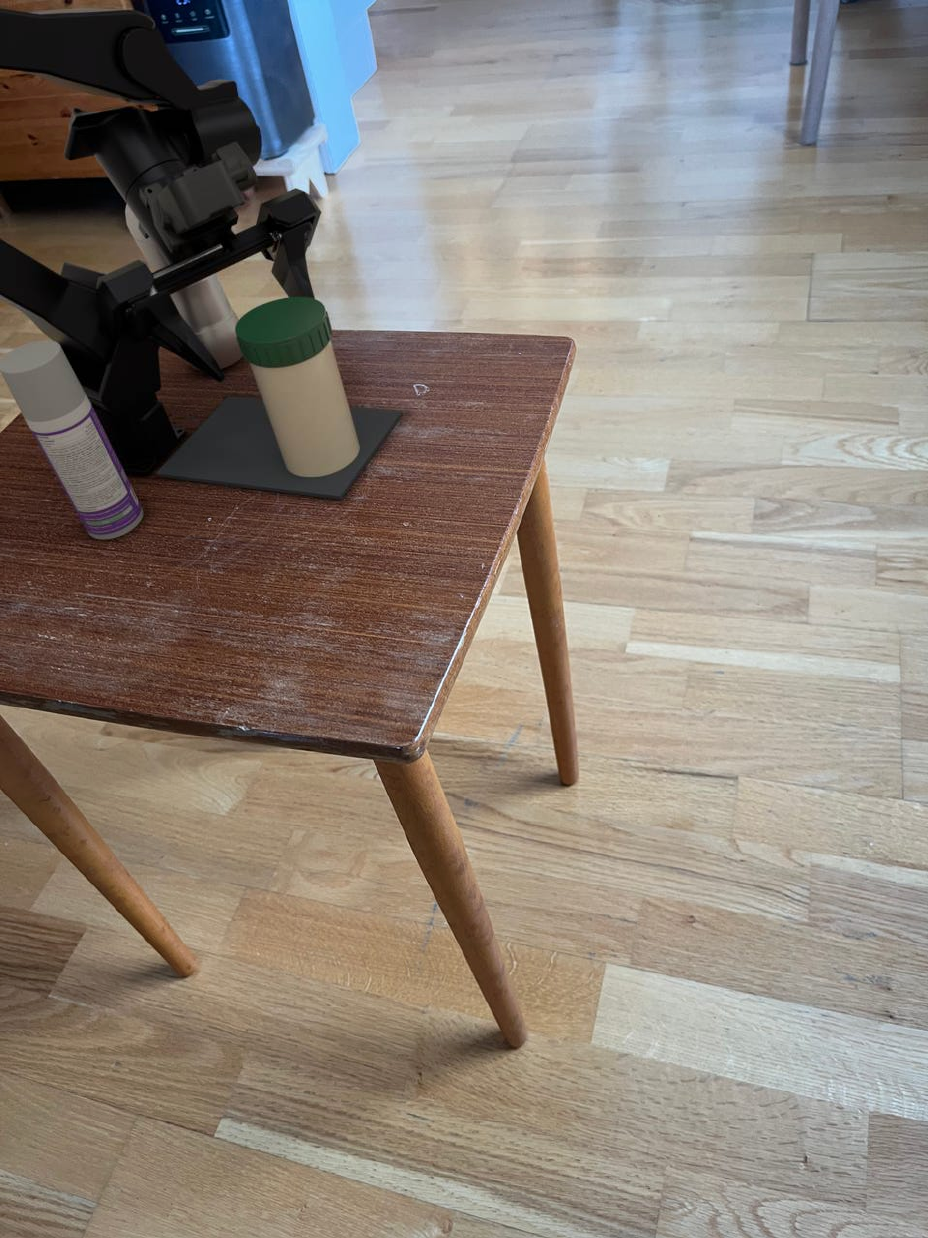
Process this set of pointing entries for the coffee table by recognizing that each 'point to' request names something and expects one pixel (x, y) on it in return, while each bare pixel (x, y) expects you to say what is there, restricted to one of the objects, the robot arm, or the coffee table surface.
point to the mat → (267, 451)
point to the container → (71, 438)
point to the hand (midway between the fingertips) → (272, 353)
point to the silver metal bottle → (198, 304)
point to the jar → (309, 414)
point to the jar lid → (283, 331)
